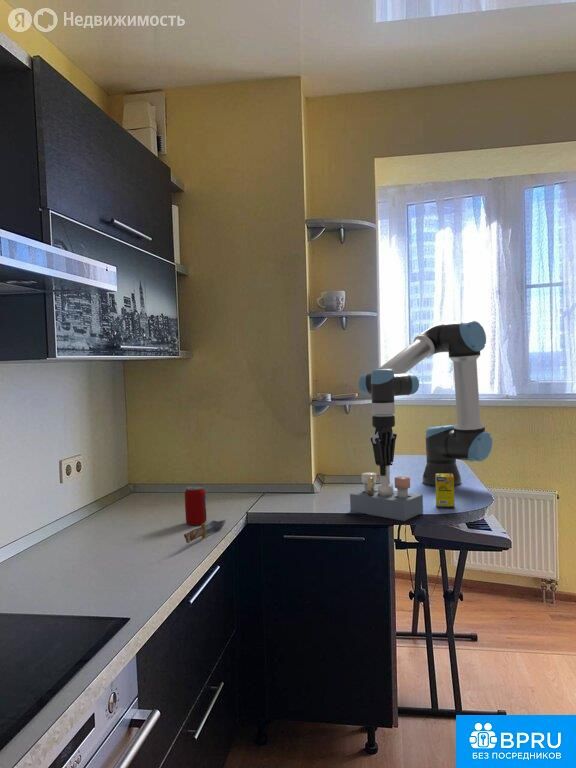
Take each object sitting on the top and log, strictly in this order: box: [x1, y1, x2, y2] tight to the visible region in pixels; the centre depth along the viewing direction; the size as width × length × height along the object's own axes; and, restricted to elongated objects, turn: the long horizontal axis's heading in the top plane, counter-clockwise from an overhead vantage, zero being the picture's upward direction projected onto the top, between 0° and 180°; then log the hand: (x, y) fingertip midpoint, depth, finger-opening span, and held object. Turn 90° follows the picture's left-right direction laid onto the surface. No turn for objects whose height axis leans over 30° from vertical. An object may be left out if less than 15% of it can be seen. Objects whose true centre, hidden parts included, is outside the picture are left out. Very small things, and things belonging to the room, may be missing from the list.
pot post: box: [367, 477, 375, 496], centre depth 195 cm, size 2×2×6 cm
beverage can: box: [184, 485, 208, 526], centre depth 191 cm, size 7×7×12 cm
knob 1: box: [361, 472, 378, 493], centre depth 200 cm, size 5×5×8 cm
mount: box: [349, 487, 424, 522], centre depth 196 cm, size 12×21×6 cm, turn 48°
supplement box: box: [435, 474, 456, 509], centre depth 200 cm, size 6×6×11 cm
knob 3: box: [394, 476, 411, 499], centre depth 191 cm, size 5×5×8 cm
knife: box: [183, 518, 227, 544], centre depth 175 cm, size 25×1×5 cm, turn 157°
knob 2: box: [377, 483, 394, 496], centre depth 196 cm, size 5×5×8 cm
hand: (385, 484), depth 196 cm, fingers closed
